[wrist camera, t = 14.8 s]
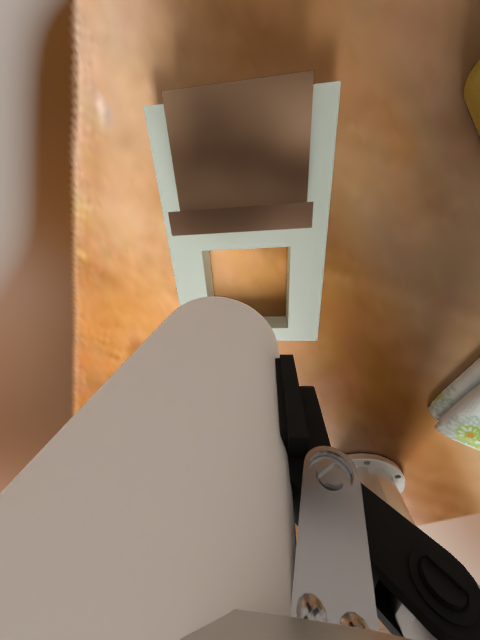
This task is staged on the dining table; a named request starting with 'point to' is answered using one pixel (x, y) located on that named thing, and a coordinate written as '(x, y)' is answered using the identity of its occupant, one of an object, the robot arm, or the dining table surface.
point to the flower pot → (473, 95)
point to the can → (158, 493)
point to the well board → (301, 243)
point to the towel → (460, 408)
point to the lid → (241, 154)
